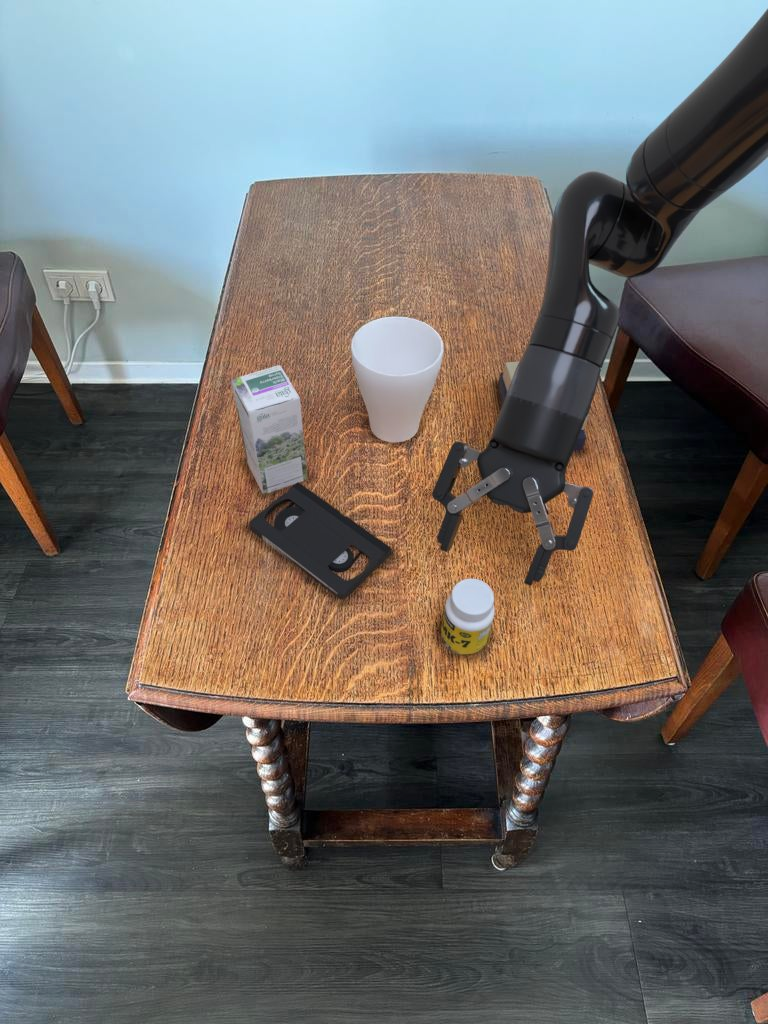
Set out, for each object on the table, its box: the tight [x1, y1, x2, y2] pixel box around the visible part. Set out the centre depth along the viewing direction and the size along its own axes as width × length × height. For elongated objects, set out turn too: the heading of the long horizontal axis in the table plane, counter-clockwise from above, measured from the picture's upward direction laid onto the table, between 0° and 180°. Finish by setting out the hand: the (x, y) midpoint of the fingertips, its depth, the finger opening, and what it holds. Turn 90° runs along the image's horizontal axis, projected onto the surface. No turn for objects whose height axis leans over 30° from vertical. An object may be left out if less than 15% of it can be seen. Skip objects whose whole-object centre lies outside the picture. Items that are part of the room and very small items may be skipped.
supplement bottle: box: [440, 577, 496, 657], centre depth 71 cm, size 5×5×8 cm
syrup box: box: [230, 364, 308, 495], centre depth 81 cm, size 6×6×14 cm
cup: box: [350, 315, 444, 444], centre depth 87 cm, size 10×10×14 cm
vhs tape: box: [249, 482, 392, 600], centre depth 80 cm, size 14×8×2 cm, turn 49°
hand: (486, 566), depth 69 cm, fingers open, 8 cm apart
